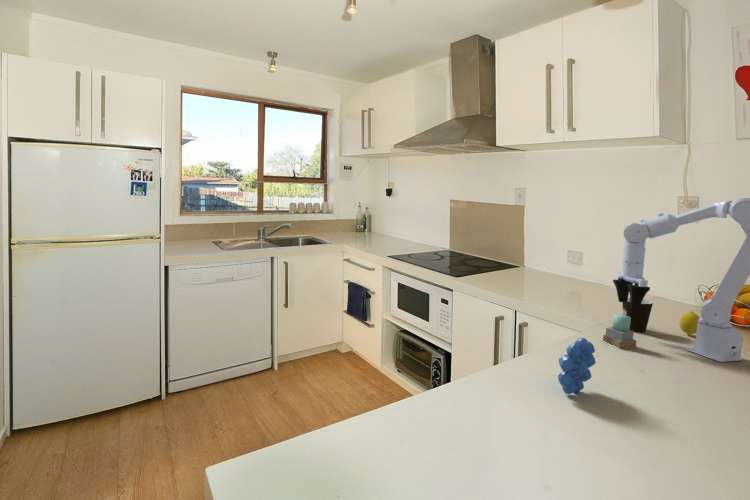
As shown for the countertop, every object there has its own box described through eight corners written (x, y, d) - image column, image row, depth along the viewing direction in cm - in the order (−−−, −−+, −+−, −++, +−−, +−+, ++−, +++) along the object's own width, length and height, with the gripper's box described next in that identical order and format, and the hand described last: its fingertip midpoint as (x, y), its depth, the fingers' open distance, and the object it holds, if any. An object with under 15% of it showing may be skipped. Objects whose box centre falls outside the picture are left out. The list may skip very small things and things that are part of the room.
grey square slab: (632, 339, 118) (633, 331, 118) (621, 341, 116) (622, 333, 116) (616, 334, 123) (617, 326, 122) (605, 336, 121) (606, 328, 120)
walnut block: (635, 348, 117) (636, 340, 117) (618, 350, 116) (619, 341, 116) (618, 341, 123) (619, 334, 123) (602, 343, 122) (603, 335, 121)
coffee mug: (649, 335, 129) (652, 305, 128) (618, 329, 134) (620, 300, 133) (650, 327, 138) (654, 299, 137) (621, 322, 143) (624, 295, 142)
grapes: (571, 378, 94) (575, 329, 93) (600, 390, 89) (605, 337, 87) (541, 390, 88) (545, 337, 87) (570, 403, 82) (575, 347, 81)
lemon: (691, 333, 133) (694, 309, 132) (703, 338, 127) (706, 314, 126) (674, 332, 133) (676, 308, 132) (685, 337, 128) (688, 313, 127)
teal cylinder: (633, 331, 117) (634, 318, 117) (620, 332, 116) (622, 318, 116) (620, 327, 122) (622, 314, 121) (608, 327, 121) (610, 314, 120)
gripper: (608, 258, 132) (604, 298, 133) (631, 265, 117) (626, 310, 119) (631, 259, 131) (627, 300, 132) (657, 266, 116) (652, 311, 118)
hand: (628, 304), depth 125 cm, fingers open, 7 cm apart
